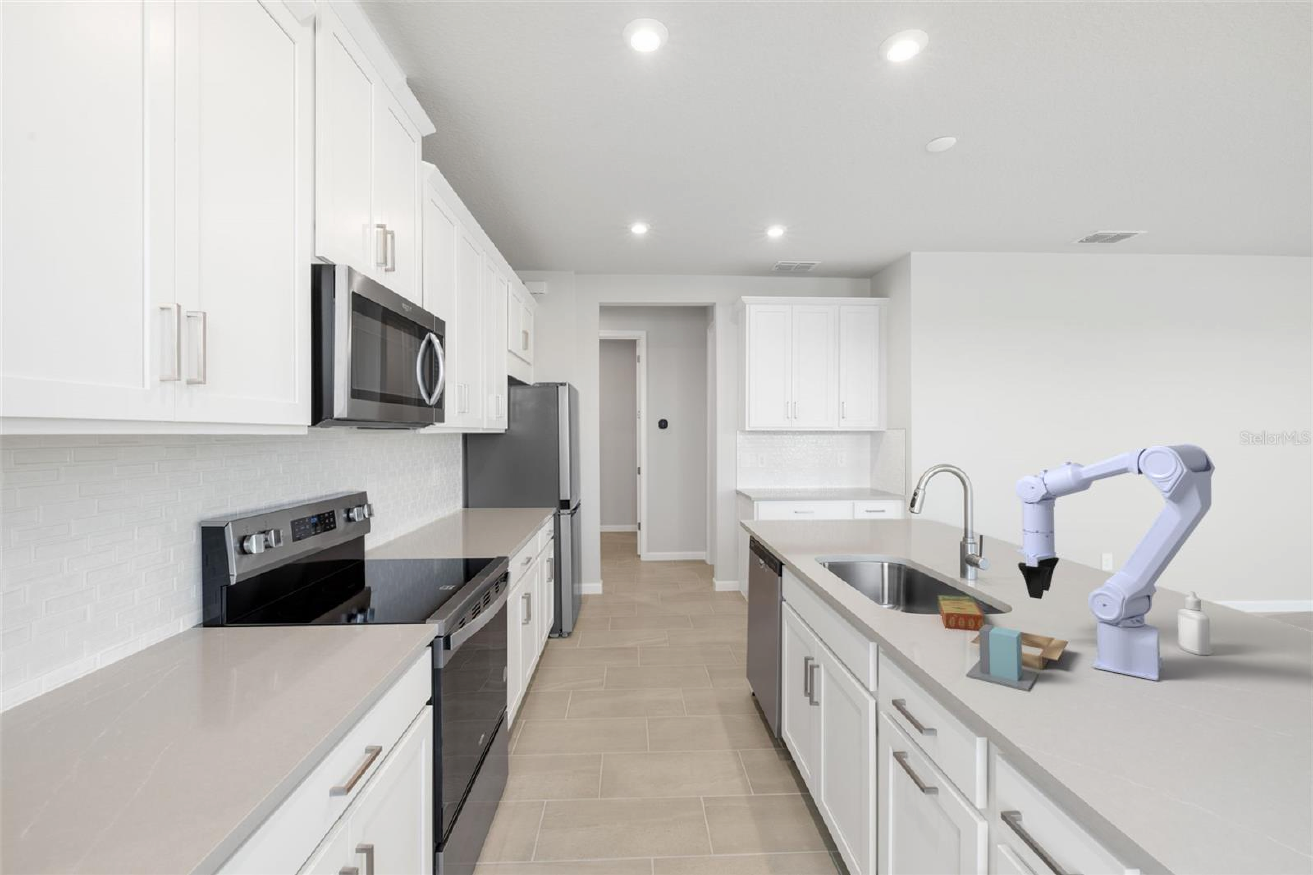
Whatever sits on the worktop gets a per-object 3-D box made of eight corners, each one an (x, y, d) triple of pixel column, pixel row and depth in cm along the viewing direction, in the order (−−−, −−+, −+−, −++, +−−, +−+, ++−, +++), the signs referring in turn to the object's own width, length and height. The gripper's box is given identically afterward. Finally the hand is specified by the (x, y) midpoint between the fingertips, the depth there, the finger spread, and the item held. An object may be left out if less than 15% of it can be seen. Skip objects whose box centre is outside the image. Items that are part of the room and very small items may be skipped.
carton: (944, 630, 136) (943, 611, 136) (937, 610, 151) (936, 593, 151) (984, 633, 133) (984, 614, 133) (973, 612, 148) (973, 595, 148)
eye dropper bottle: (1181, 653, 117) (1180, 593, 117) (1177, 644, 122) (1175, 587, 122) (1211, 657, 115) (1210, 596, 115) (1205, 648, 119) (1204, 590, 119)
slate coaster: (1038, 675, 109) (1038, 672, 109) (1028, 691, 102) (1028, 689, 102) (979, 661, 116) (979, 659, 116) (966, 676, 109) (966, 674, 109)
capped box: (1022, 674, 109) (1021, 630, 109) (1017, 681, 106) (1016, 636, 106) (986, 665, 113) (984, 624, 113) (980, 672, 110) (979, 629, 110)
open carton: (1069, 652, 119) (1068, 640, 119) (1057, 673, 110) (1056, 659, 110) (988, 637, 129) (987, 625, 129) (970, 654, 120) (970, 642, 120)
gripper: (1024, 524, 133) (1025, 583, 133) (1008, 533, 123) (1010, 598, 123) (1061, 527, 128) (1062, 588, 128) (1048, 537, 118) (1049, 604, 118)
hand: (1039, 593), depth 125 cm, fingers open, 7 cm apart
